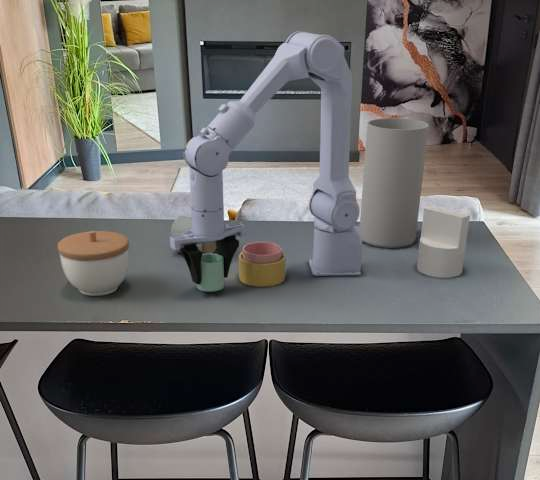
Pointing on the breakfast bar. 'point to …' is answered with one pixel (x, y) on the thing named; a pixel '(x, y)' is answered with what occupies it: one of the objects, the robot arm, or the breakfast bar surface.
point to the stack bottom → (262, 272)
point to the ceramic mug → (184, 225)
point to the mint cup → (211, 272)
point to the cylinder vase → (392, 181)
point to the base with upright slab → (442, 242)
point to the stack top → (262, 252)
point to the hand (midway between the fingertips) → (210, 279)
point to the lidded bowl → (95, 261)
